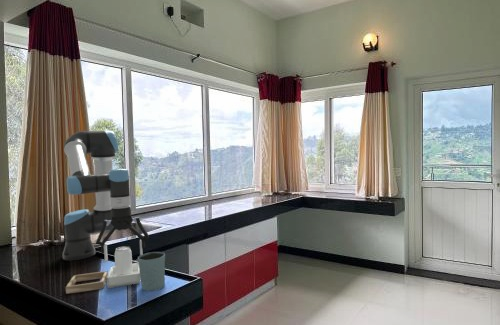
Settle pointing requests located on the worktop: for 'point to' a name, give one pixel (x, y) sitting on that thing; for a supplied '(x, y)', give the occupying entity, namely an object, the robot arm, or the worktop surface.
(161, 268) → the grey-green cup
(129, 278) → the tray
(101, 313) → the worktop surface
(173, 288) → the worktop surface
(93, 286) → the holder ring
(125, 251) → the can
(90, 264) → the worktop surface
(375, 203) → the worktop surface
